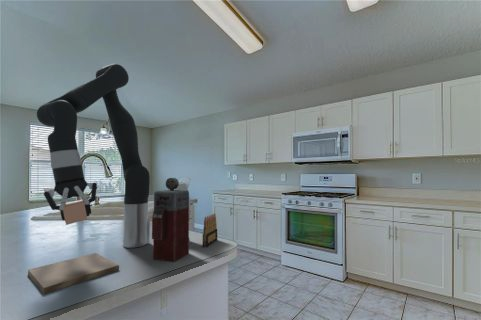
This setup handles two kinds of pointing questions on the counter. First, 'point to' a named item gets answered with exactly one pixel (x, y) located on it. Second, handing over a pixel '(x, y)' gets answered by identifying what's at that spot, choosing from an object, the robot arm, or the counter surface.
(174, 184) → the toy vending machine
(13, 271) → the counter surface
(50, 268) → the board
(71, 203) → the block
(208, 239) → the ammunition clip
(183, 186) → the skyscraper
